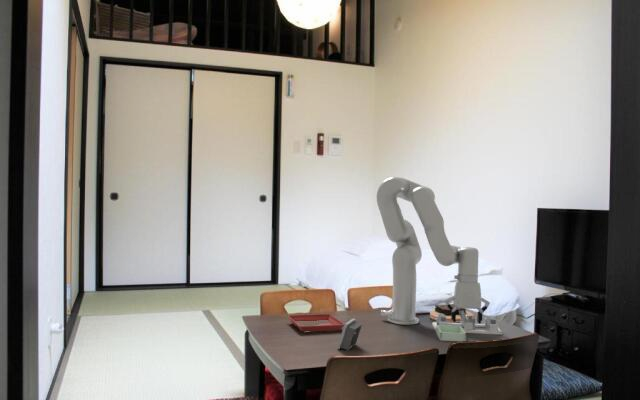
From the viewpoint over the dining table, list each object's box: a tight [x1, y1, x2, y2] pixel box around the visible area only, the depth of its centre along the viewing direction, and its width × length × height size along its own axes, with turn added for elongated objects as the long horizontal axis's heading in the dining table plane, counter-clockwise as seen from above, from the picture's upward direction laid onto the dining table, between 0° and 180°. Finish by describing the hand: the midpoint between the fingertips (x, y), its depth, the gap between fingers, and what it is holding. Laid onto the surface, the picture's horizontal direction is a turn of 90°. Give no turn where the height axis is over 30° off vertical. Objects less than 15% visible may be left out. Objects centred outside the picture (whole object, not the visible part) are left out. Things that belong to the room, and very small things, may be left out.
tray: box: [435, 325, 467, 342], centre depth 199 cm, size 9×11×3 cm
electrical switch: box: [336, 318, 363, 351], centre depth 182 cm, size 9×5×9 cm, turn 158°
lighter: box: [458, 308, 476, 330], centre depth 211 cm, size 7×2×8 cm, turn 114°
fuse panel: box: [431, 315, 503, 335], centre depth 211 cm, size 25×11×4 cm, turn 85°
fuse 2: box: [486, 315, 497, 331], centre depth 210 cm, size 2×7×5 cm, turn 175°
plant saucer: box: [287, 313, 345, 333], centre depth 208 cm, size 18×18×3 cm
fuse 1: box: [437, 313, 447, 325], centre depth 212 cm, size 2×7×5 cm, turn 175°
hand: (466, 322), depth 211 cm, fingers open, 9 cm apart
